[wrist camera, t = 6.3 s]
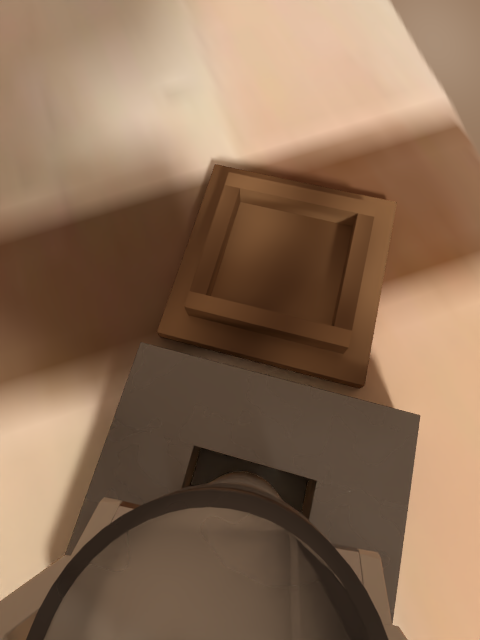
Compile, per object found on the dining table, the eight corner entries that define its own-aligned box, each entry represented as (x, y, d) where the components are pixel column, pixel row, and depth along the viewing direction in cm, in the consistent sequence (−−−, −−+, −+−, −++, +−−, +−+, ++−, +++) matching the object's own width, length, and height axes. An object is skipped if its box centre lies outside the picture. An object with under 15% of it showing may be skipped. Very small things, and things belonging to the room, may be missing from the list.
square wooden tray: (160, 336, 21) (151, 324, 19) (216, 173, 24) (212, 148, 22) (359, 388, 20) (371, 381, 18) (392, 210, 23) (404, 188, 21)
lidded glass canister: (175, 560, 18) (-64, 886, 4) (205, 454, 19) (94, 450, 6) (277, 592, 17) (366, 1073, 4) (300, 482, 18) (429, 548, 5)
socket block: (58, 634, 17) (26, 664, 14) (153, 355, 20) (140, 342, 18) (351, 738, 15) (370, 788, 13) (399, 420, 19) (420, 415, 17)
